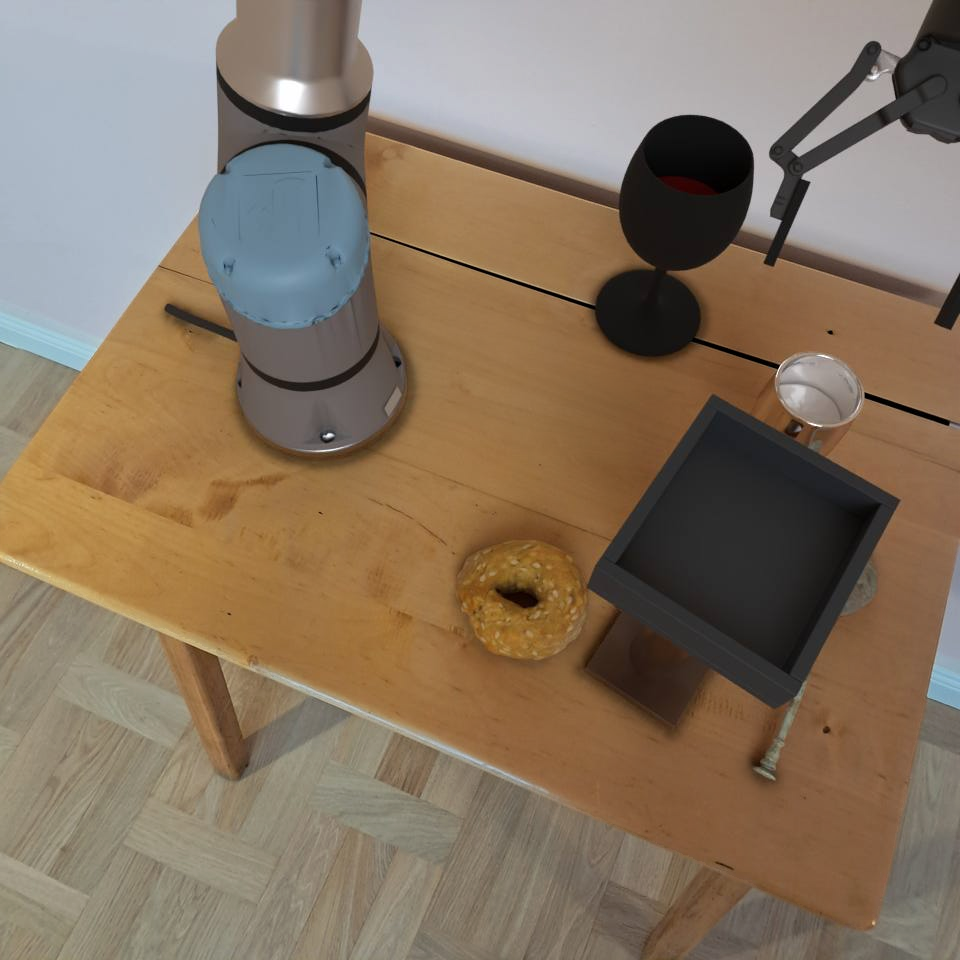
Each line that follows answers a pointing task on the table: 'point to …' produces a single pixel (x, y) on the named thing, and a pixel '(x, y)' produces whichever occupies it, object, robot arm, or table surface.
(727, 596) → the tray
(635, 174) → the wine glass
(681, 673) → the stand
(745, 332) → the table surface
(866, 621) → the table surface
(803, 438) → the silver metal cup
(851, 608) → the soupspoon
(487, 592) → the bagel
